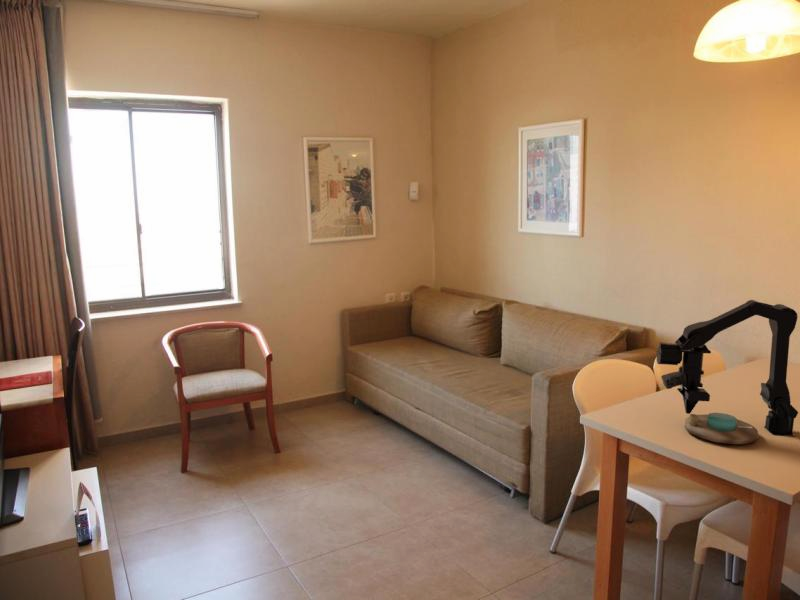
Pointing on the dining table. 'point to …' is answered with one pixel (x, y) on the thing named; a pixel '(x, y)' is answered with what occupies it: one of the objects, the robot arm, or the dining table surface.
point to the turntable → (739, 436)
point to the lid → (721, 422)
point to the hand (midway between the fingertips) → (687, 413)
